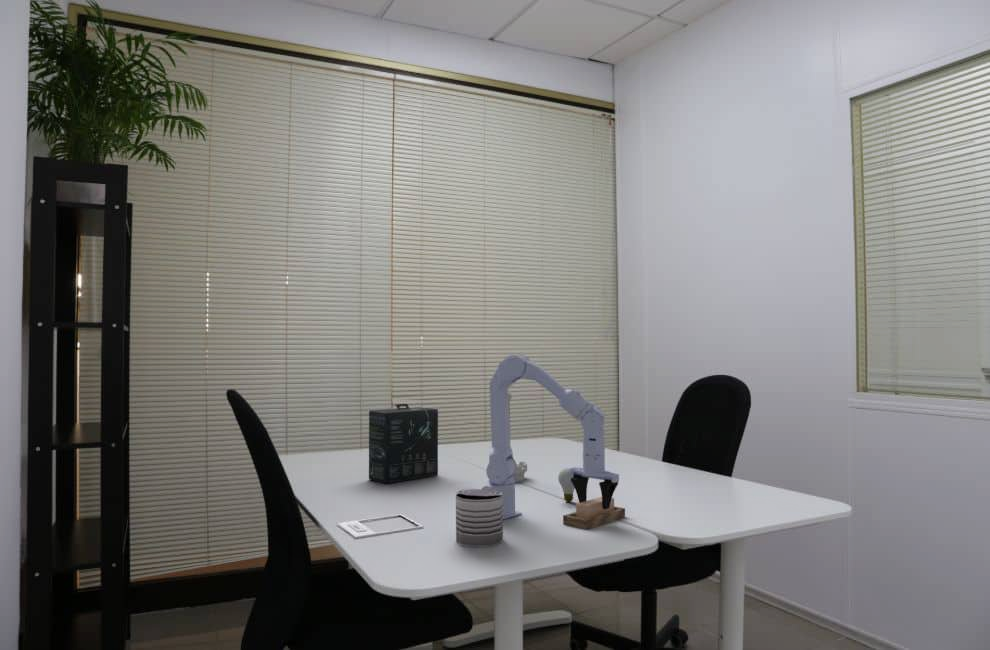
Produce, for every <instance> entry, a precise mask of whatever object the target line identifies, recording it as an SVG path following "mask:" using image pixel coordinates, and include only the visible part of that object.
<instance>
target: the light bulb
mask: <svg viewBox="0 0 990 650" xmlns="http://www.w3.org/2000/svg"><path fill="white" fill-rule="evenodd" d="M570 468H571V467H565V468H562V470H561V471H560V472H559V473H558V475H557V476H558V477H557V478H558V483H559V485H560V486H561V488H562V492H563V499H564V501H565V502H567V503H571V502H572V501H573V500H574V492H575V487H574V485H573V484H572V482H571V478H573V476H572V475H570Z"/></svg>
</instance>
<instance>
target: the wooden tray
mask: <svg viewBox="0 0 990 650" xmlns="http://www.w3.org/2000/svg"><path fill="white" fill-rule="evenodd" d="M624 516H625V517H626V508H624V507H619V506H615V505H614V510H613V511H610V512H607V513H604V514H601V515H597V516H594V517H591V518H588V519H583V518H578V517H576V511H574V512H573V511H572V512H570V513H568V514H567V513H566V514H564V515H563V516H562V518H563V521H562V524H563V525H565V526H569V527H575V528H578V529H583V530H589V529H592V528H595V527H598V526H600V525H603V524H607V523H611V522H613V521H616V520H620V519H623V518H625V517H624ZM622 517H623V518H622Z"/></svg>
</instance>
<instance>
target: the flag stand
mask: <svg viewBox="0 0 990 650" xmlns="http://www.w3.org/2000/svg"><path fill="white" fill-rule="evenodd" d="M512 398H513V395H512V394H511V392H509V391H508V400H509V427H510V428H511V402H510V400H511V399H512ZM515 462H516V471H515V473H514V474H513V478H514V480H515V483H517V482H522V481H524V480H525V474H526V472H527V471H528V463H526V461H521V460H520V461H519V463H517V461H516V460H515Z"/></svg>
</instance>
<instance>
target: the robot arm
mask: <svg viewBox="0 0 990 650" xmlns="http://www.w3.org/2000/svg"><path fill="white" fill-rule="evenodd" d="M522 378H523V380H528V381H529V380H530V381H535V382H537V383H538V384H539V385H540V386H542V387H543V388H544V389H545V390H547V391H548V392H550V394H552V395H554V397H556V398H557V399H558V404H559V407H561V408H562V409H563V410H565V412H567V413H568V414H569V415H570V416H572V417H573V418H574V419H575V420H576V421H578V422H580V425H581V427H582V428H583V435H582V465H583V466H582V467H577V466H575V467H574V466H573V467H569V468H570V475H572V476H573V478H571V482H572V484H573V485H574V487H575V489H574V491H575V492H576V495H577V500H578V503H581V502H585V501H587V496H588V495H587V494H588V493H587V491H588V490H587V489H588V483H589V479H595V480H600V481H601V482H598V485H599V488H600V492H601V497H602V507H603V509H608V508H609V507H610V503H611V499H612V498H613V495H614V492H615V491H616V488H617V487H618V484H619V482H620V474H619V473H616V472H615V473H614V472H611V471H607V470H606V467H605V466H606V459H605V458H606V457H605V456H606V455H605V454H606V453H605V452H606V449H605V445H606V444H605V428H604V425H605V424H606V416H605V413H604V412H603V411H602V410H601V408H599V407H595V406H596V404H594V403H593V402H592V403H590V401H588V400H587V399H586V398H584V397H583V396H582V392H581V391H580V390H575V389H573V388H571V389H566V388H565V386H563V385H562V384H560V382H558V381H557V380H556V379H555V378H554V377H553V376H552V375H551V374H550V373H549V372H547V370H545V369H544V368H543V367H542V366H541V365H540V364H538V363H536V362H535V361H534V360H532V359H530V358H529V357H528V356H526V355H524V354H516V355H515V354H511V355H508V356H506V357H505V358H504V359H502V360H501V361H500V362H499V363H498V366H497V369H496V370H495V372H494V374H493V376H492V378H491V380H490V381H489V405H490V431H491V432H490V433H491V448H490V449H491V450H490V452H489V458H488V459H489V460H488V461H489V462H488V464H487V467H486V470H485V471H486V476H487V478H488V482H487V484H486V485H484V486H482V488H481V489H483V490H494V491H500V492H503V493H502V494H503V520H505V519H510V518H512V517H516V516H521V515H523V512H521V511H517V510H516V482H515V480H514V478H513V474H514V473H515V471H516V464H517V461H516V460H515V459H514V456H513V455H514V453H513V449H512V447H511V426H510V427H509V400H508V392H509V389H510V387H512V386H513V385H514V384H515V383H516V382H517V381H519V380H520V379H522ZM515 461H516V462H515Z"/></svg>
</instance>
